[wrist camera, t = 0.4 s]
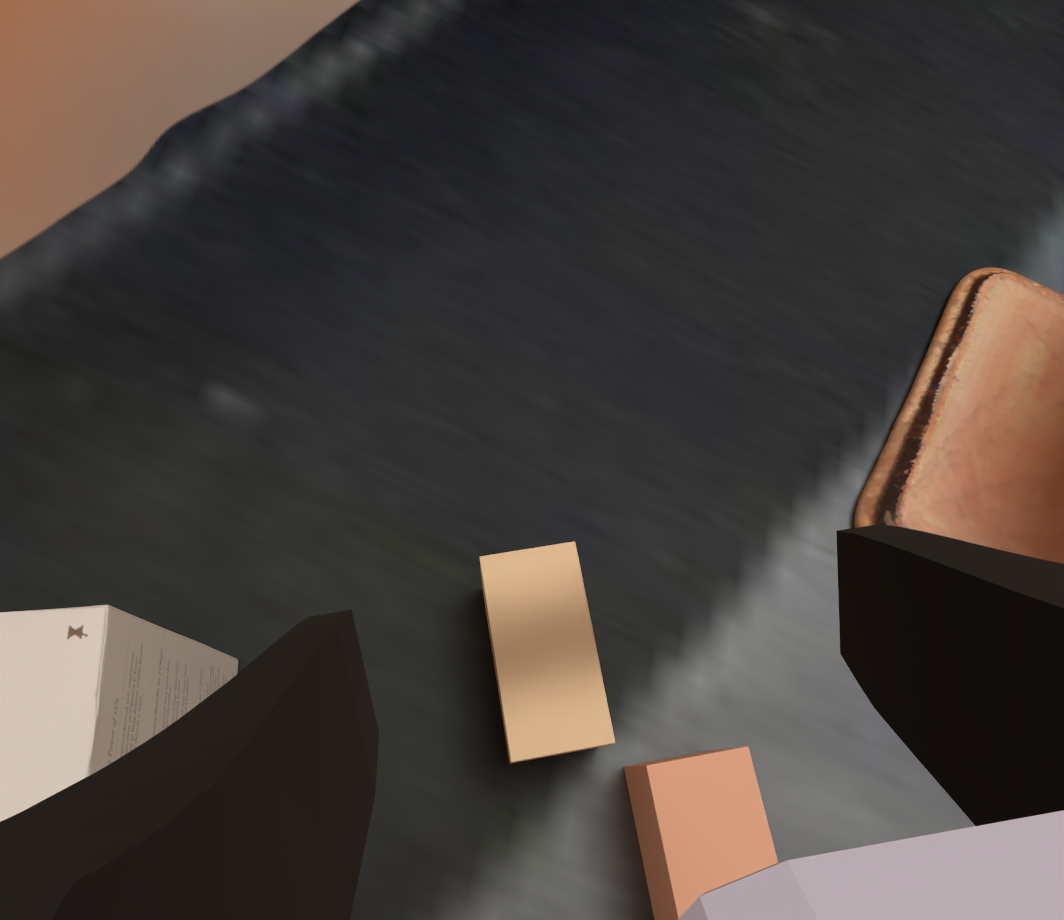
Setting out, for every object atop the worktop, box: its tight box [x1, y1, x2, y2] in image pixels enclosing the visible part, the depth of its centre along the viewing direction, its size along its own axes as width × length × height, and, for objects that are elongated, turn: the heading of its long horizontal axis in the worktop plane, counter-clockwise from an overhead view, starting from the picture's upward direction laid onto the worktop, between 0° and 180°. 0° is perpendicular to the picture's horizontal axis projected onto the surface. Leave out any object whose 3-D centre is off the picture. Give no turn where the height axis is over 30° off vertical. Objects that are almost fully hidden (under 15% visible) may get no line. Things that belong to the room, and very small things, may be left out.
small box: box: [0, 605, 238, 822], centre depth 29 cm, size 8×6×13 cm
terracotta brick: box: [624, 746, 778, 920], centre depth 31 cm, size 8×4×6 cm, turn 10°
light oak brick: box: [480, 542, 615, 764], centre depth 34 cm, size 8×4×6 cm, turn 10°
